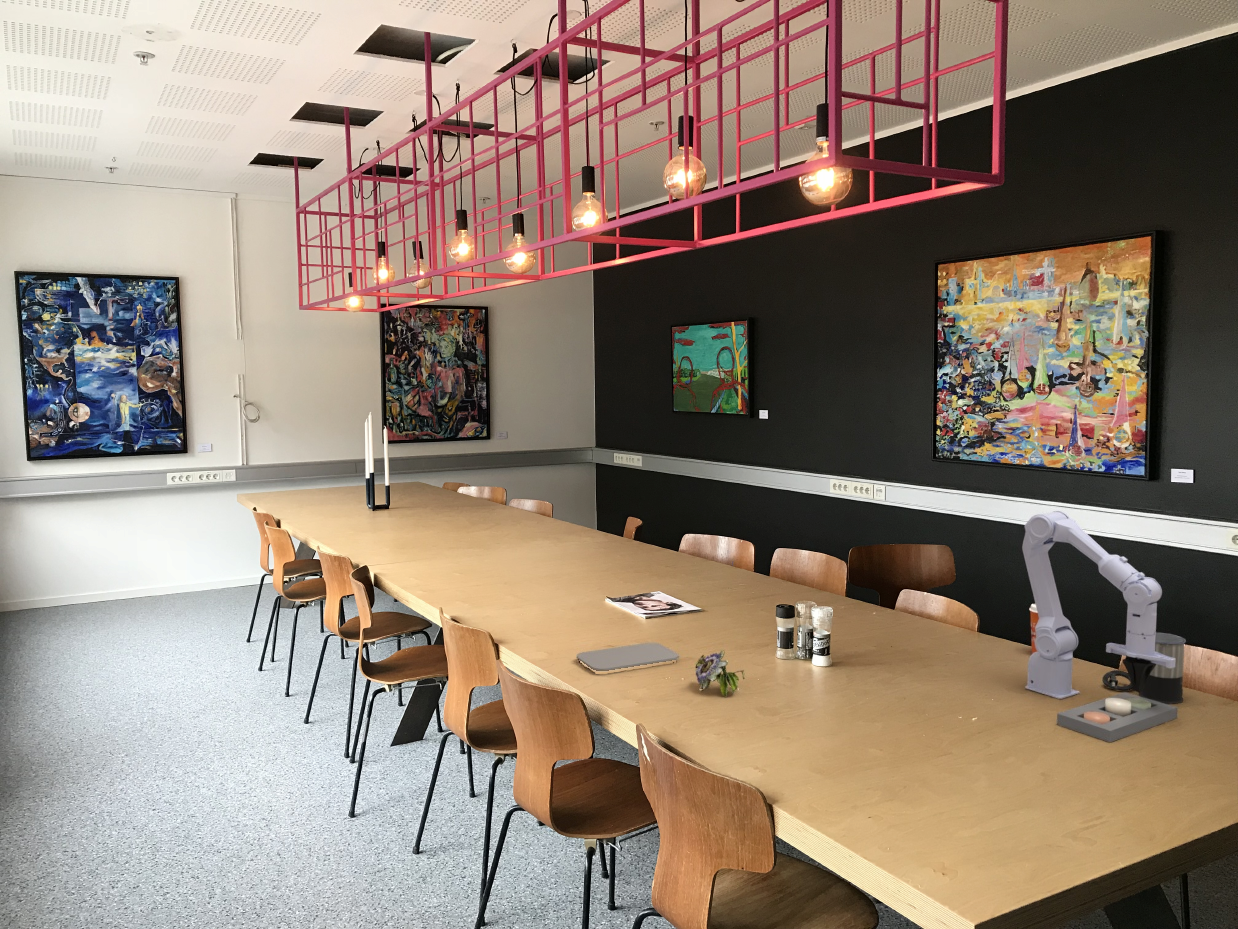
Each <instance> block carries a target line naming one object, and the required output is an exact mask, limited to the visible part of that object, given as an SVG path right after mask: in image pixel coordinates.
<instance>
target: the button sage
mask: <svg viewBox="0 0 1238 929" xmlns="http://www.w3.org/2000/svg"><path fill="white" fill-rule="evenodd" d="M1126 700H1127V701H1129V702H1131V706H1132V707H1136V708H1139V709H1142V710H1145V709H1148V708H1151V703H1150V702H1149V701H1147V700H1143V699H1138V698H1128V699H1126Z"/></svg>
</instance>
